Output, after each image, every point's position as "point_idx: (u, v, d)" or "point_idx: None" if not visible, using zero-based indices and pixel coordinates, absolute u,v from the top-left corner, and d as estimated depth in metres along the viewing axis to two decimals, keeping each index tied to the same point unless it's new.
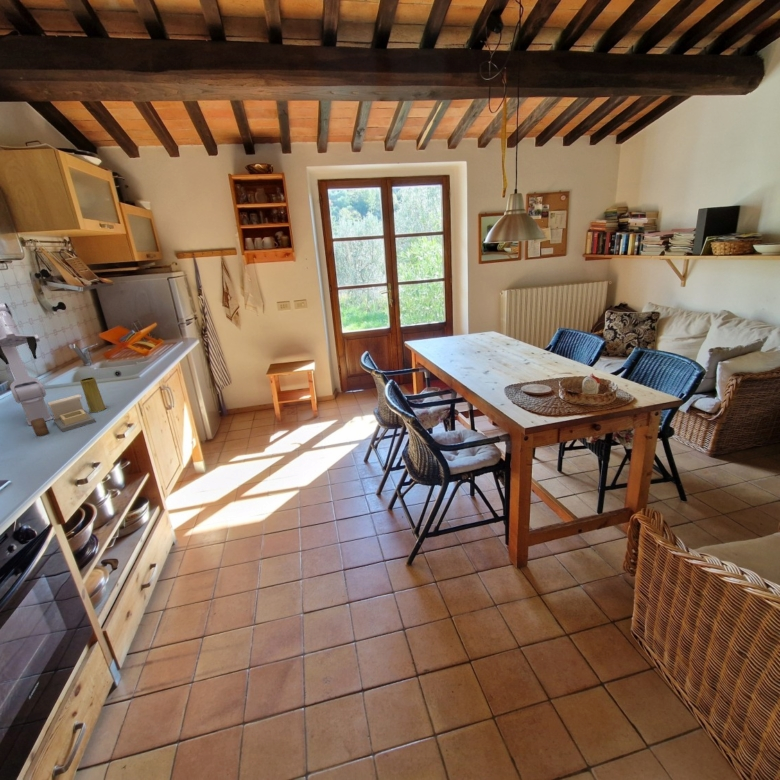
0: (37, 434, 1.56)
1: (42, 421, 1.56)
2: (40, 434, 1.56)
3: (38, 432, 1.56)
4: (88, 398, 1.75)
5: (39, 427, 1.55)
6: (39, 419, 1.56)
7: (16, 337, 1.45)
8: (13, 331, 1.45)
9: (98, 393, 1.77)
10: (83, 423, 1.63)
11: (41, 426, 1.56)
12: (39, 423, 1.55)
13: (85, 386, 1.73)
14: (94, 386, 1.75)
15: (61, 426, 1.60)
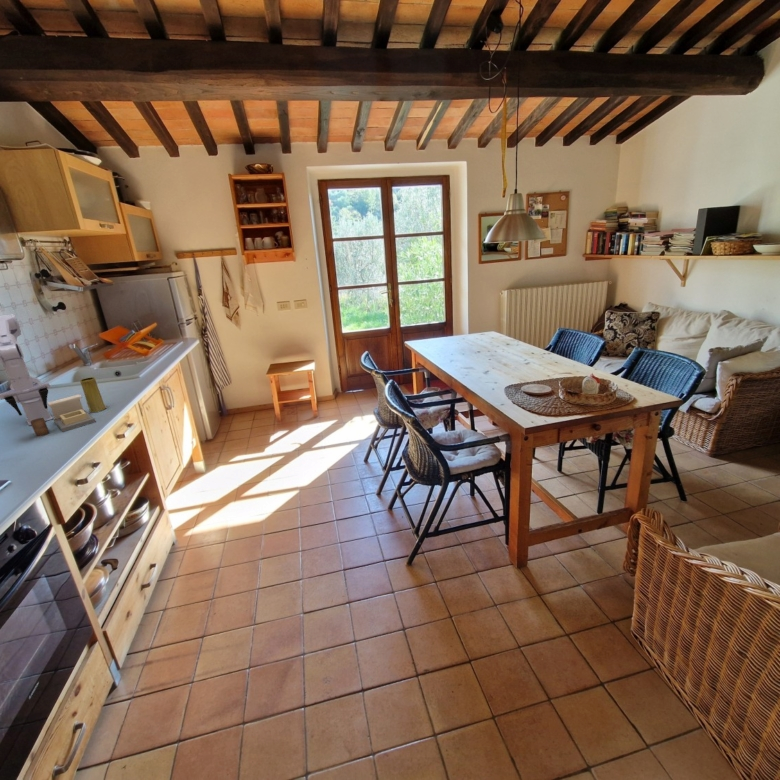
0: (37, 434, 1.56)
1: (42, 421, 1.56)
2: (40, 434, 1.56)
3: (38, 432, 1.56)
4: (88, 398, 1.75)
5: (39, 427, 1.55)
6: (39, 419, 1.56)
7: None
8: (27, 384, 1.50)
9: (98, 393, 1.77)
10: (83, 423, 1.63)
11: (41, 426, 1.56)
12: (39, 423, 1.55)
13: (85, 386, 1.73)
14: (94, 386, 1.75)
15: (61, 426, 1.60)
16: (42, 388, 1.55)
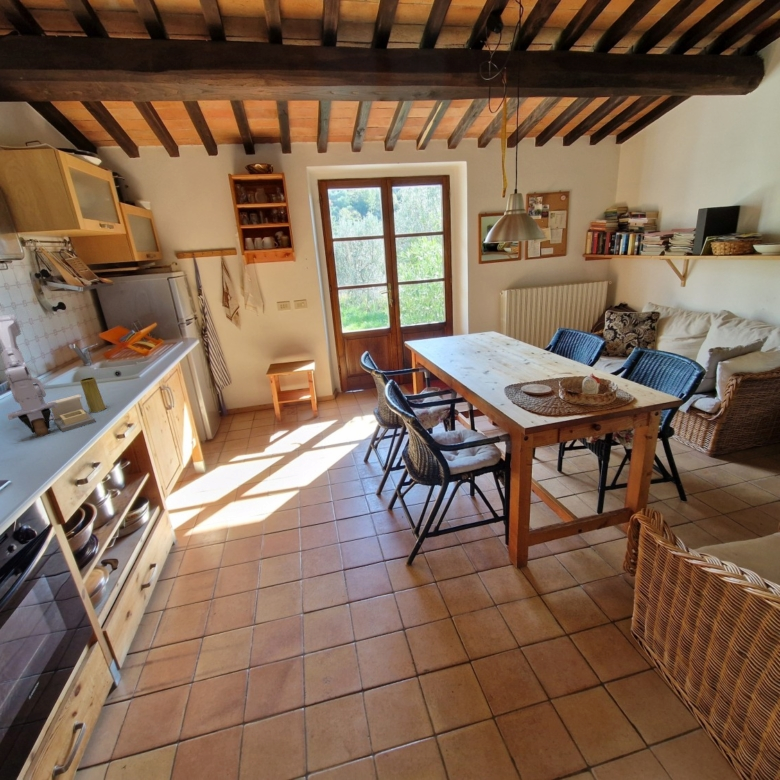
0: (37, 434, 1.56)
1: (42, 421, 1.56)
2: (40, 434, 1.56)
3: (38, 432, 1.56)
4: (88, 398, 1.75)
5: (39, 427, 1.55)
6: (39, 419, 1.56)
7: None
8: (35, 404, 1.53)
9: (98, 393, 1.77)
10: (83, 423, 1.63)
11: (41, 426, 1.56)
12: (39, 423, 1.55)
13: (85, 386, 1.73)
14: (94, 386, 1.75)
15: (61, 426, 1.60)
16: (49, 407, 1.58)
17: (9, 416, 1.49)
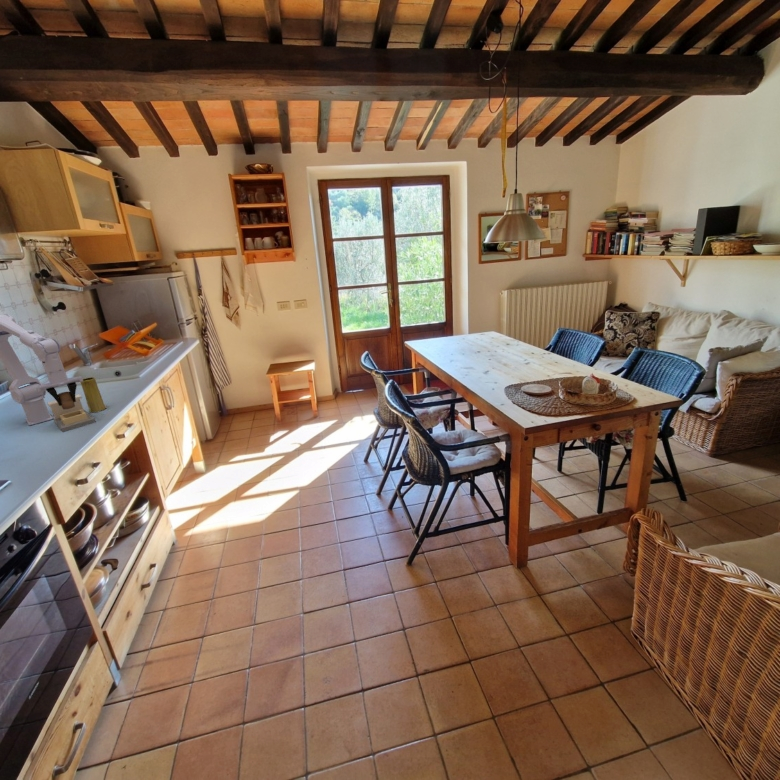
0: (64, 407, 1.61)
1: (68, 394, 1.61)
2: (66, 407, 1.61)
3: (64, 405, 1.61)
4: (88, 398, 1.75)
5: (66, 400, 1.61)
6: (65, 392, 1.62)
7: None
8: (62, 377, 1.58)
9: (98, 393, 1.77)
10: (83, 423, 1.63)
11: (67, 399, 1.61)
12: (65, 396, 1.60)
13: (85, 386, 1.73)
14: (94, 386, 1.75)
15: (61, 426, 1.60)
16: (75, 381, 1.63)
17: (38, 388, 1.55)
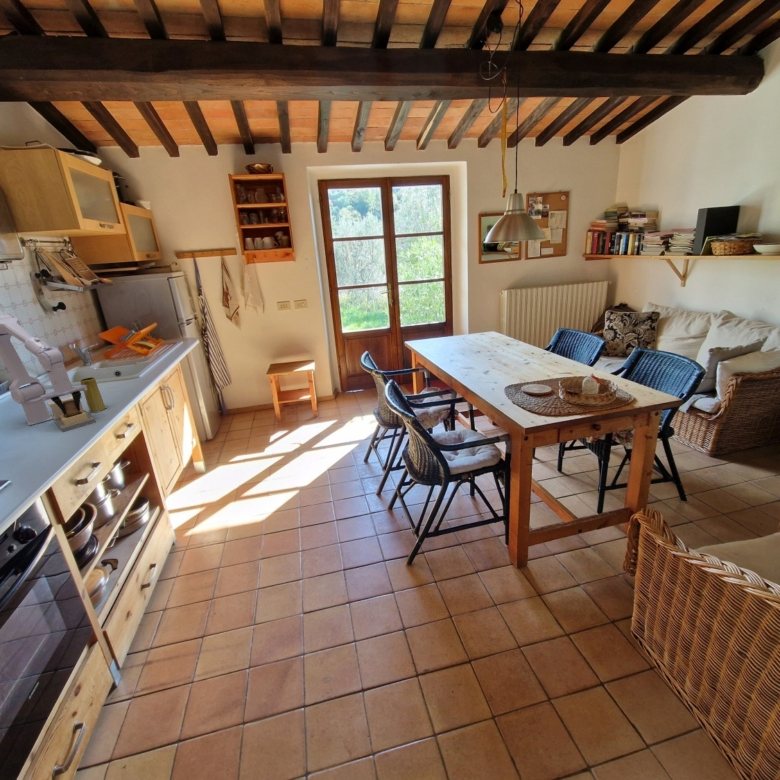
0: (68, 415, 1.63)
1: (73, 403, 1.63)
2: (71, 415, 1.63)
3: (69, 414, 1.63)
4: (88, 398, 1.75)
5: (71, 409, 1.62)
6: (70, 401, 1.63)
7: None
8: (67, 387, 1.60)
9: (98, 393, 1.77)
10: (83, 423, 1.63)
11: (72, 407, 1.63)
12: (70, 405, 1.62)
13: None
14: (94, 386, 1.75)
15: (61, 426, 1.60)
16: (80, 390, 1.65)
17: (43, 397, 1.56)
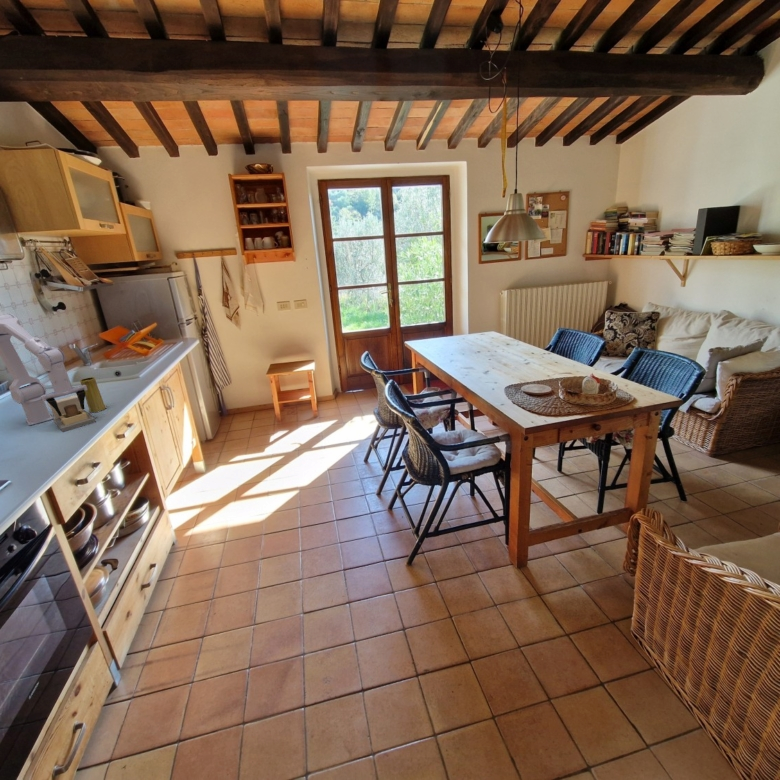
0: None
1: (74, 407, 1.64)
2: None
3: None
4: (88, 398, 1.75)
5: (72, 413, 1.63)
6: (72, 405, 1.64)
7: None
8: (67, 387, 1.60)
9: (98, 393, 1.77)
10: (83, 423, 1.63)
11: (73, 412, 1.63)
12: (71, 409, 1.63)
13: None
14: (94, 386, 1.75)
15: (61, 426, 1.60)
16: (80, 390, 1.65)
17: (43, 398, 1.56)
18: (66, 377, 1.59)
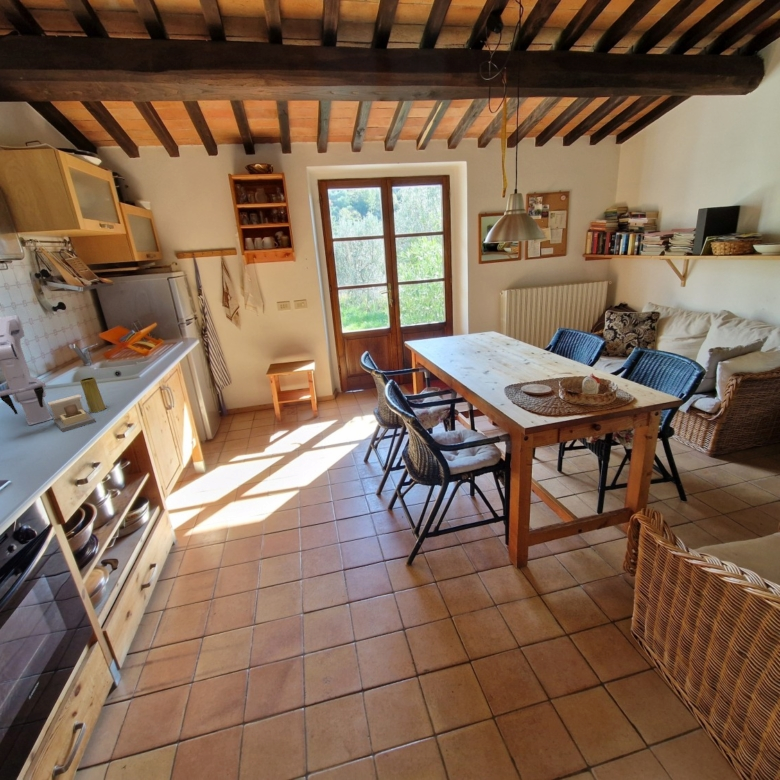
0: None
1: (74, 407, 1.64)
2: None
3: None
4: (88, 398, 1.75)
5: (72, 413, 1.63)
6: (72, 405, 1.64)
7: None
8: (23, 383, 1.53)
9: (98, 393, 1.77)
10: (83, 423, 1.63)
11: (73, 412, 1.63)
12: (71, 409, 1.63)
13: (85, 386, 1.73)
14: (94, 386, 1.75)
15: (61, 426, 1.60)
16: (38, 387, 1.58)
17: None
18: (17, 375, 1.51)
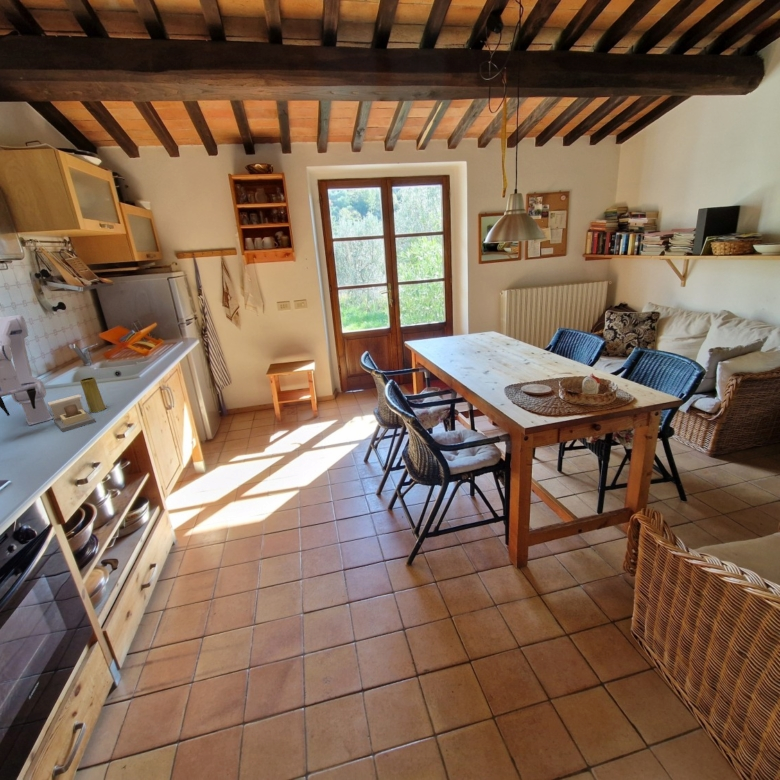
0: None
1: (74, 407, 1.64)
2: None
3: None
4: (88, 398, 1.75)
5: (72, 413, 1.63)
6: (72, 405, 1.64)
7: None
8: (15, 385, 1.52)
9: (98, 393, 1.77)
10: (83, 423, 1.63)
11: (73, 412, 1.63)
12: (71, 409, 1.63)
13: (85, 386, 1.73)
14: (94, 386, 1.75)
15: (61, 426, 1.60)
16: (30, 388, 1.56)
17: None
18: (7, 376, 1.49)
